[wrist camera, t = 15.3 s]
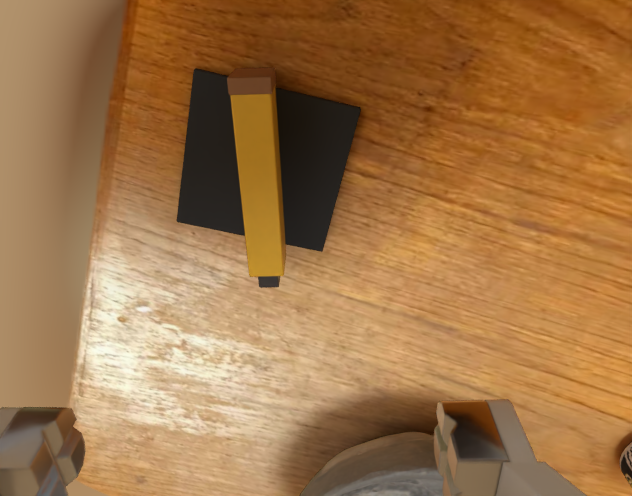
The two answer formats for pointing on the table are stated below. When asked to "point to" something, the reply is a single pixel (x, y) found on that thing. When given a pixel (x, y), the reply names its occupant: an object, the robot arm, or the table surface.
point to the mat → (295, 160)
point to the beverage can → (627, 463)
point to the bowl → (381, 469)
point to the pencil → (259, 171)
